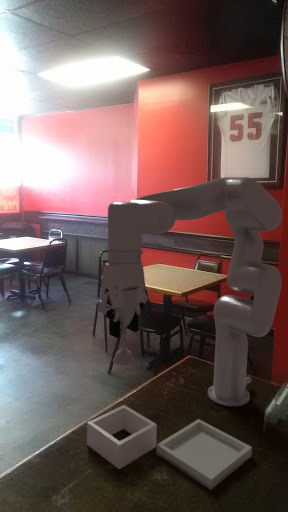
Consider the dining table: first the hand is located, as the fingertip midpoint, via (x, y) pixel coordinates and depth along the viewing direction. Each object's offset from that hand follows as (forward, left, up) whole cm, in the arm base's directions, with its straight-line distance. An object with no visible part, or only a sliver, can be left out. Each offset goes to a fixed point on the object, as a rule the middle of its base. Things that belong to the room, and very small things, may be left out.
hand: (123, 332), depth 95 cm
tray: (-12, +16, -29) cm, 35 cm away
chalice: (0, 0, -7) cm, 7 cm away
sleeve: (0, 0, -29) cm, 29 cm away
